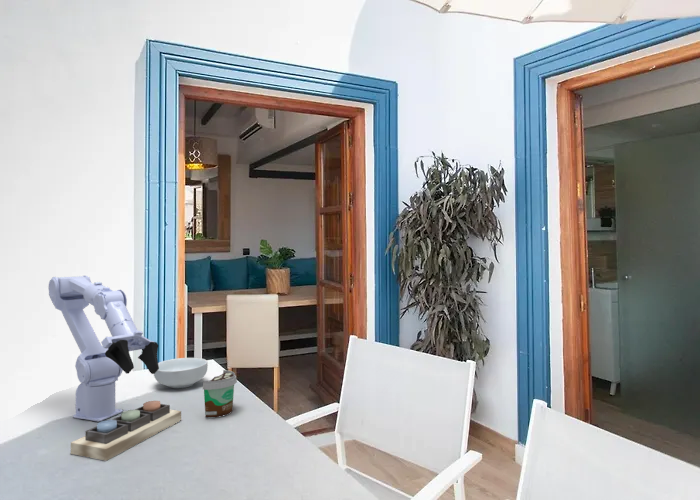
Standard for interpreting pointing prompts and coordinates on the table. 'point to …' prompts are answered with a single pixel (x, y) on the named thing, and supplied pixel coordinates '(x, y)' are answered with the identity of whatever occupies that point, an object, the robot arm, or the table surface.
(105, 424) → the button blue
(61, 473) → the table surface
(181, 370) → the cereal bowl
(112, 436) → the button board
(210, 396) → the food container
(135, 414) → the button sage
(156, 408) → the button terracotta
